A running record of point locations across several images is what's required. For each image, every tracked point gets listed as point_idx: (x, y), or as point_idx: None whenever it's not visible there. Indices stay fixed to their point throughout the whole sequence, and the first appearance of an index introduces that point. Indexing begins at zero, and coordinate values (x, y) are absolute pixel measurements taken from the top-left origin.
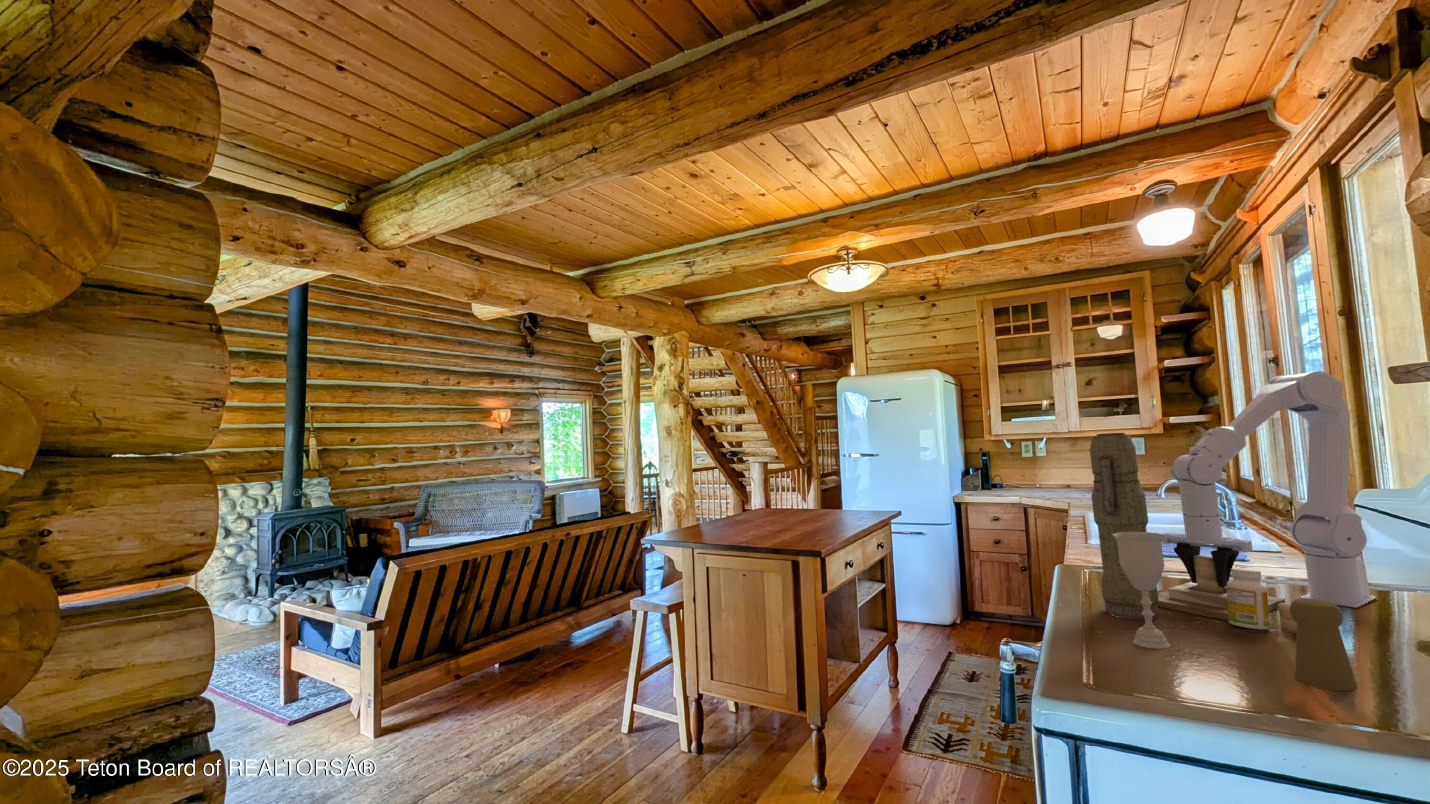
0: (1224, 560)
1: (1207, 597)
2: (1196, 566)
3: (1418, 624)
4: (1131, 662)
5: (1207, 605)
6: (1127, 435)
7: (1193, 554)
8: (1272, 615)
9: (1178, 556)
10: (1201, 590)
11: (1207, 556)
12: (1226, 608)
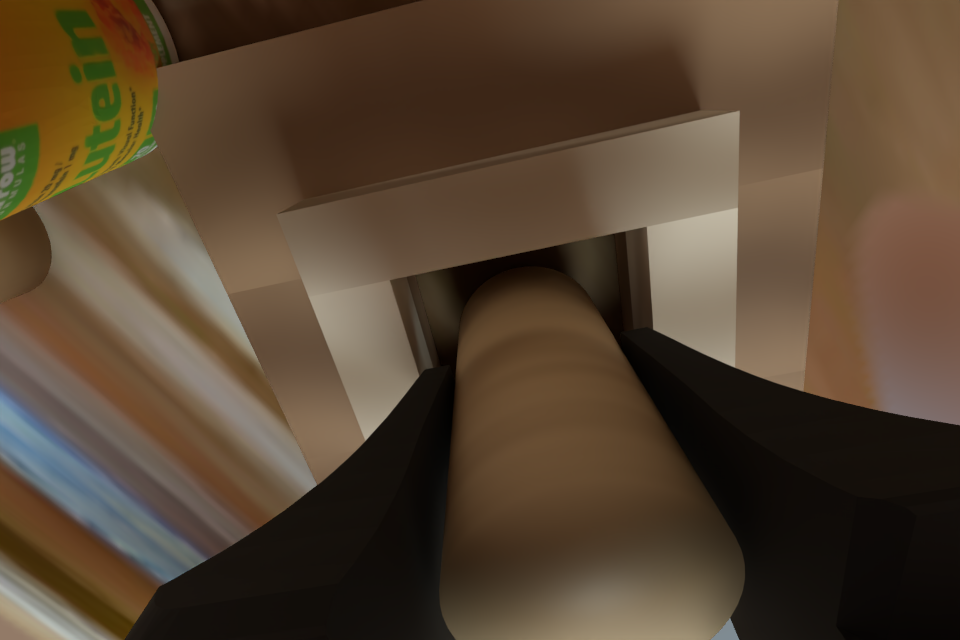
0: (235, 546)
1: (420, 179)
2: (622, 402)
3: (22, 627)
4: None
5: (417, 150)
6: None
7: (765, 584)
8: (246, 369)
9: (917, 422)
10: (548, 289)
11: (600, 624)
12: (309, 186)
